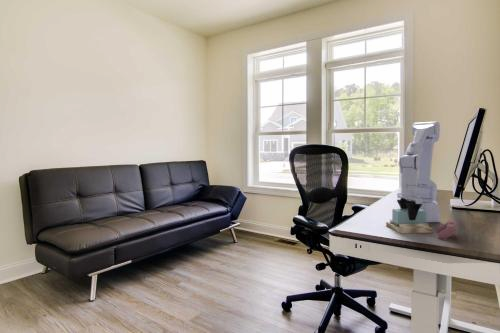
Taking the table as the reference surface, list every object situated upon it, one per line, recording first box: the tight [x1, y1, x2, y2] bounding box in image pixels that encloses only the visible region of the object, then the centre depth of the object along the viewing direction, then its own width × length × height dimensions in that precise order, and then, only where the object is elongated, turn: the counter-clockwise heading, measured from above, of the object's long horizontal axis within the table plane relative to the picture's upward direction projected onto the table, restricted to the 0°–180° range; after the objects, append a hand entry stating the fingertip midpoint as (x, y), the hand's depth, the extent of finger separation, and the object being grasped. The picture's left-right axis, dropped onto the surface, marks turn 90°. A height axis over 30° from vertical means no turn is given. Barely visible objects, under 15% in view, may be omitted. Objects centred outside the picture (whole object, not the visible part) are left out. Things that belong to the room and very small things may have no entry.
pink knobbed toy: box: [436, 220, 458, 240], centre depth 109 cm, size 10×5×7 cm, turn 149°
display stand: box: [385, 218, 434, 234], centre depth 119 cm, size 13×11×3 cm
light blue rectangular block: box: [391, 208, 427, 224], centre depth 119 cm, size 11×4×5 cm, turn 90°
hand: (408, 218), depth 119 cm, fingers closed on light blue rectangular block, 4 cm apart
